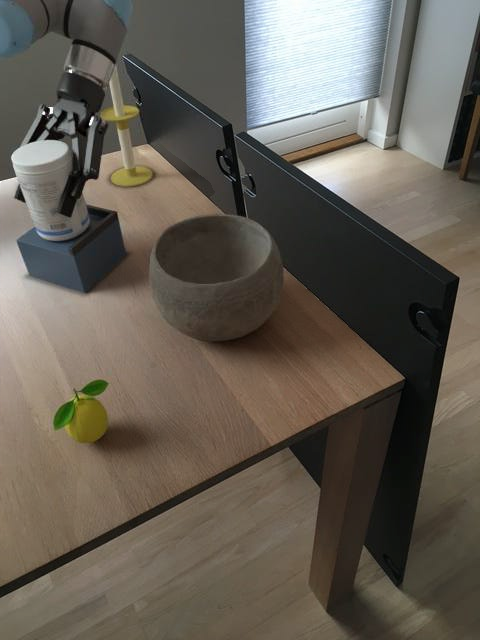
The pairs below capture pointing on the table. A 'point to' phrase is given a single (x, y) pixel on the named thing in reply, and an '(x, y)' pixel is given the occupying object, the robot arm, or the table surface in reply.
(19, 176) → the supplement tub
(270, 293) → the bowl
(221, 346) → the table surface
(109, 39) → the robot arm
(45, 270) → the blue storage bin
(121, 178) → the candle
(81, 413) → the lemon
